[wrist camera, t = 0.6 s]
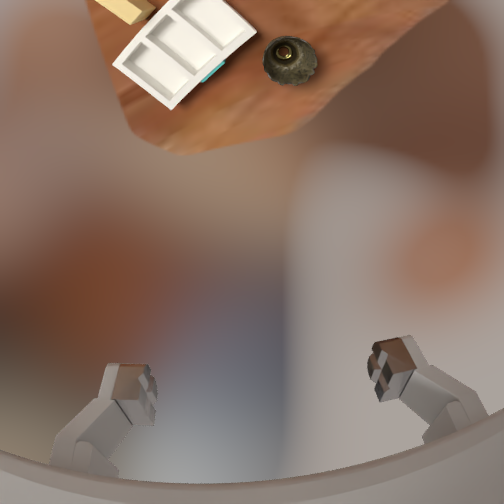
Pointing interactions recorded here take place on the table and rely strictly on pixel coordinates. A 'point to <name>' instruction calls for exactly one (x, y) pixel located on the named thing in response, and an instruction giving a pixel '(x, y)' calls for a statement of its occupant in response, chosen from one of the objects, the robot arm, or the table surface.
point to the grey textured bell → (289, 61)
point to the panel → (129, 9)
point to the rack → (183, 47)
